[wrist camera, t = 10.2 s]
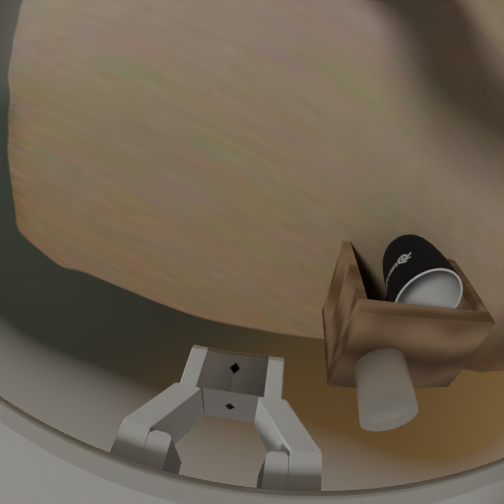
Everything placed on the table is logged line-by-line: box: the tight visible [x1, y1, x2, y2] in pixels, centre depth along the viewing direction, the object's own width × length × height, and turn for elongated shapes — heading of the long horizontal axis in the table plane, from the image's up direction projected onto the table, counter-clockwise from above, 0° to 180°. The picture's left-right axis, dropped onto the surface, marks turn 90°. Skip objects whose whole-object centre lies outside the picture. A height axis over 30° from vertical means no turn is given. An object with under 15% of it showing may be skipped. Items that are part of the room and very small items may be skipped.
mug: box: [383, 235, 463, 309], centre depth 34 cm, size 12×9×10 cm
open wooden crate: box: [322, 241, 495, 388], centre depth 34 cm, size 12×18×14 cm, turn 84°
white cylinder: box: [354, 348, 418, 431], centre depth 27 cm, size 6×6×7 cm
